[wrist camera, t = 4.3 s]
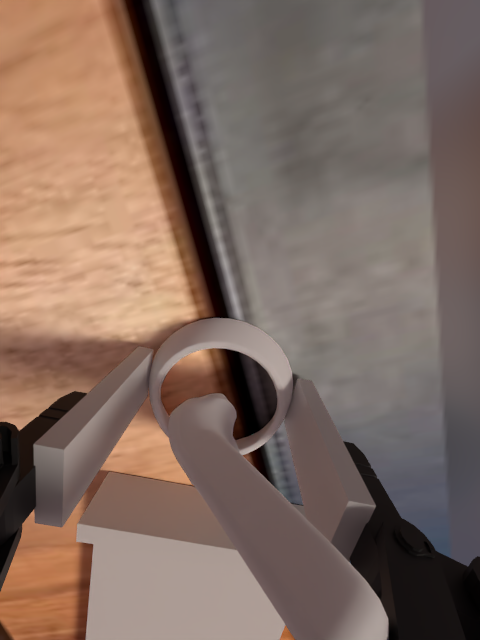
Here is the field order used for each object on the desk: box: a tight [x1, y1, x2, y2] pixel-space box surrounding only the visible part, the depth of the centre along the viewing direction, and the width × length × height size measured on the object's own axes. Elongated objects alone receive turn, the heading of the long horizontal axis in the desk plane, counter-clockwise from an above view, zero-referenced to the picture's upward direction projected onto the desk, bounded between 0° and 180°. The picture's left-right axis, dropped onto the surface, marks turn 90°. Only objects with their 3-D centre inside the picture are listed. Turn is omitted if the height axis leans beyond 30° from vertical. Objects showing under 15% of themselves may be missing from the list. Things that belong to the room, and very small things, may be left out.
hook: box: [149, 318, 389, 640], centre depth 10 cm, size 8×12×7 cm
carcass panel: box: [76, 472, 307, 640], centre depth 16 cm, size 18×13×3 cm
